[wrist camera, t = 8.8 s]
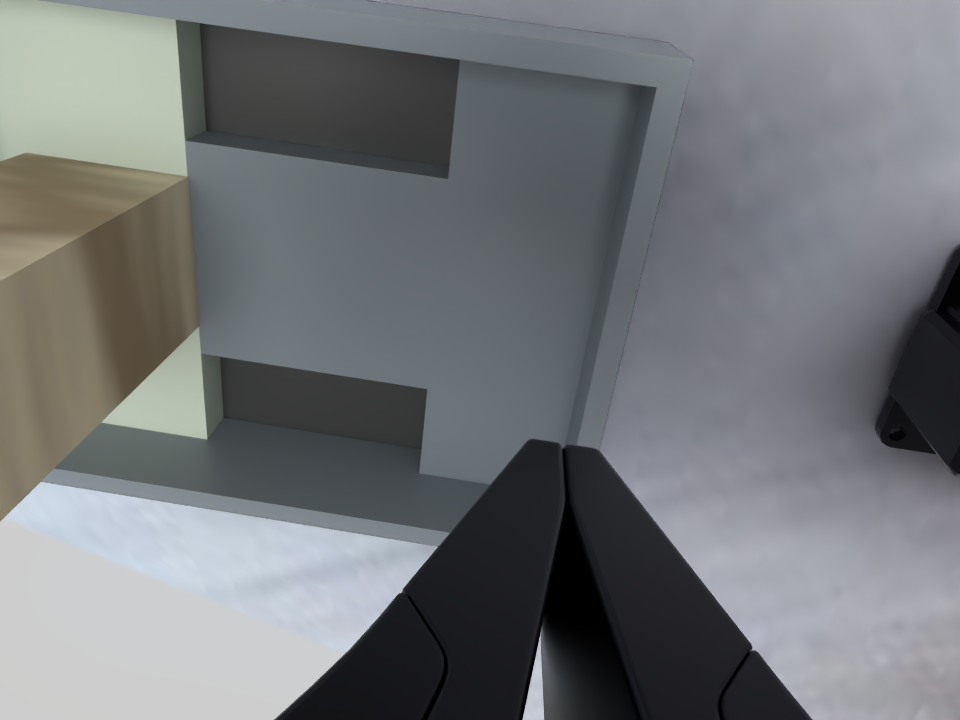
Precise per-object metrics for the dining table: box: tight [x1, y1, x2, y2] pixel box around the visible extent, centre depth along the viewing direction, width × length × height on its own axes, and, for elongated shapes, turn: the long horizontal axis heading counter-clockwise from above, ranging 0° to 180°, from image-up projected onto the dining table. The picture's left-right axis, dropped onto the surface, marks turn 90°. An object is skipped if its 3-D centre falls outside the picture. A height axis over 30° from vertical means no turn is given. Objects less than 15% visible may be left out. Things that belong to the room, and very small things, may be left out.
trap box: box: [0, 0, 693, 547], centre depth 20 cm, size 18×14×4 cm
